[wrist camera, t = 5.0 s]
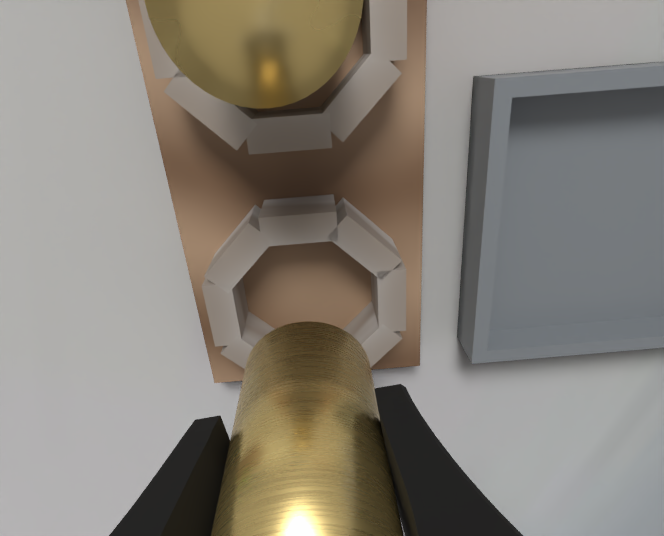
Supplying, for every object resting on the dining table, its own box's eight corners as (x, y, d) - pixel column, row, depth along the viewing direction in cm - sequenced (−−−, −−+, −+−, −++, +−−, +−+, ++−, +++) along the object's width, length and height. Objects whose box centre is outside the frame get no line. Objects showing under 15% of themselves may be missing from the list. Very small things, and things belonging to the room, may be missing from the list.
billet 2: (384, 332, 12) (464, 624, 6) (353, 427, 14) (390, 742, 7) (255, 311, 12) (193, 603, 5) (237, 412, 13) (172, 734, 7)
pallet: (107, -141, 13) (47, -200, 10) (419, -163, 13) (452, -229, 10) (219, 365, 20) (204, 416, 18) (413, 349, 20) (431, 397, 18)
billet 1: (335, -53, 13) (358, -161, 6) (342, 82, 14) (367, 100, 8) (211, -43, 13) (113, -143, 6) (231, 91, 14) (168, 116, 8)
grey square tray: (781, 52, 16) (842, 51, 14) (693, 316, 20) (731, 341, 19) (473, 76, 16) (495, 78, 14) (457, 336, 20) (471, 363, 18)
